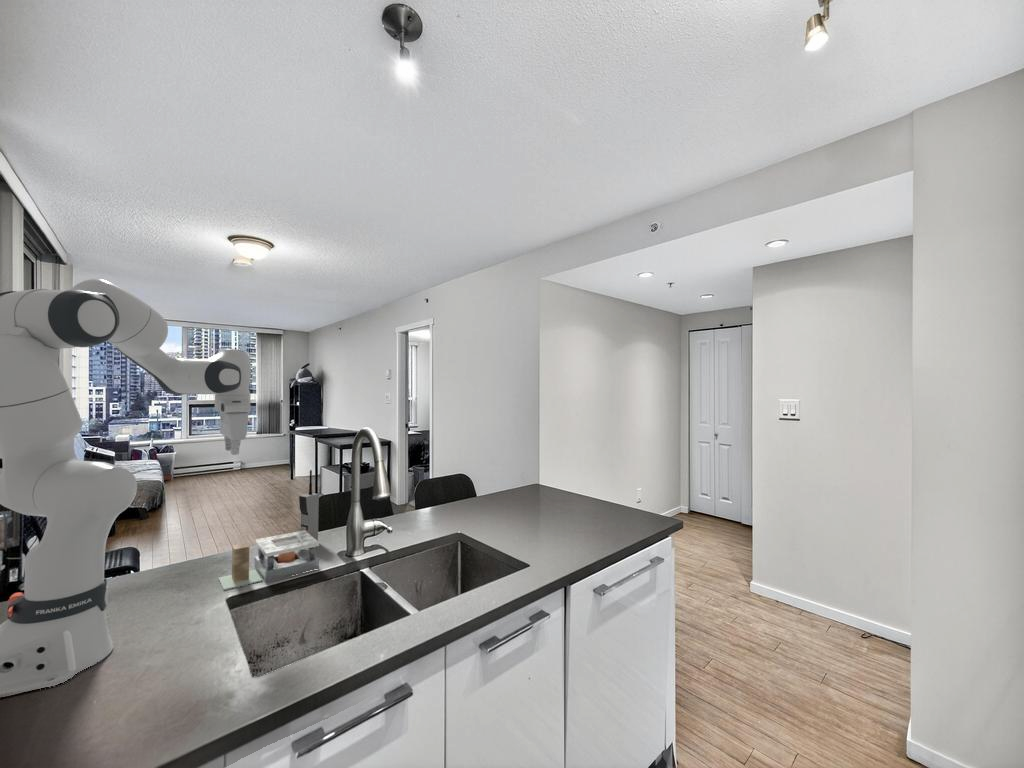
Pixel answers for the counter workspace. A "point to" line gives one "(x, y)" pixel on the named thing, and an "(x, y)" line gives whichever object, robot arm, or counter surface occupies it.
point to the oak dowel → (240, 562)
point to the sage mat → (229, 584)
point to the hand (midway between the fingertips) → (231, 452)
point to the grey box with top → (269, 552)
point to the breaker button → (286, 557)
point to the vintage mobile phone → (309, 511)
